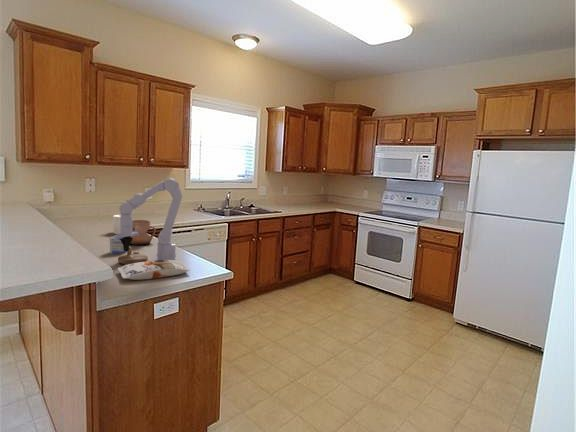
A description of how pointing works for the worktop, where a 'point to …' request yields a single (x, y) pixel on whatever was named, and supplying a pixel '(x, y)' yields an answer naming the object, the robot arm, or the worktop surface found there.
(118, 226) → the toilet paper
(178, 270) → the dog food
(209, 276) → the worktop surface
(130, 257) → the turntable
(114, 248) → the medicine box
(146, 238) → the ceramic jug
